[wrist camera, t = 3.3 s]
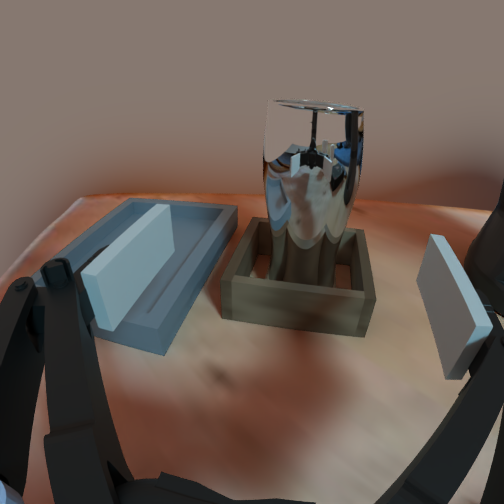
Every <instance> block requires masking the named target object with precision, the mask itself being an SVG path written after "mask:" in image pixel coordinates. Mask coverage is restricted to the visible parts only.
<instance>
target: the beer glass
mask: <svg viewBox="0 0 504 504" xmlns="http://www.w3.org/2000/svg"><path fill="white" fill-rule="evenodd" d="M363 140H364V109H363V108H361V107H358V106H353V105H348V104H343V103H336V102H328V101H319V100H307V99H269V100H268V108H267V118H266V125H265V135H264V150H263V181H264V190H265V199H266V206H267V213H268V219H269V226H270V234H271V257H270V262H269V266H268V269H267V273H266V277H265V279H267V280H275V281H283V282H290V283H298V284H306V285H314V286H322V287H330V288H336V259H337V253H338V249H339V245H340V242H341V239H342V236H343V233H344V231H345V228H346V225H347V222H348V219H349V216H350V214H351V211H352V208H353V205H354V201H355V197H356V194H357V190H358V186H359V181H360V175H361V168H362V158H363V157H362V156H363Z"/></svg>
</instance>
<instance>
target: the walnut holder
mask: <svg viewBox="0 0 504 504" xmlns="http://www.w3.org/2000/svg"><path fill="white" fill-rule="evenodd" d="M258 254H264V255H271V234H270V226H269V219H267V218H258V217H252V219H251V221H250V223H249V225H248V227H247V229H246V231H245V233H244V235H243V236H242V238H241V240H240V242H239V244H238V246H237V248H236V250H235V252H234V254H233V256H232V258H231V260H230V262H229V264H228V265H227V267H226V269H225V271H224V273H223V275H222V277H221V279H220V288H221V307H222V318H224V319H230V320H236V321H242V322H248V323H255V324H261V325H268V326H275V327H282V328H289V329H296V330H304V331H312V332H320V333H328V334H337V335H346V336H356V337H365V335H366V332H367V328H368V325H369V322H370V319H371V316H372V313H373V309H374V306H375V303H376V295H375V288H374V282H373V276H372V271H371V265H370V260H369V254H368V249H367V244H366V239H365V234H364V230H361V229H353V228H345V231H344V233H343V236H342V239H341V242H340V245H339V249H338V253H337V259H336V263H338V264H346V265H350V272H351V285H352V290H347V289H339V288H330V287H322V286H314V285H306V284H298V283H290V282H283V281H275V280H267V279H260V278H252V277H250V274H251V271H252V269H253V266H254V264H255V261H256V259H257V256H258Z"/></svg>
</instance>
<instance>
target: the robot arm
mask: <svg viewBox="0 0 504 504" xmlns="http://www.w3.org/2000/svg"><path fill="white" fill-rule="evenodd" d="M174 251H175V249H174V241H173V232H172V222H171V212H170V205H167V204H156V205H155V206H154V207H152V208H151V209H150V210H149V211H148V212H146V213H145V214H144V215H143V216H142V217H141V218H140V219H138V220H137V221H136V222H135V223H134V224H133V225H131V226H130V227H129V228H128V229H127V230H126V231H125V232H124V233H122V234H121V235H120V236H119V237H118V238H117V239H116V240H115V241H114V242H112V243H111V244H110V245H107V246H105V247H103V248H101V249H99V250H98V251H97V252H96V253H94V254H93V255H92V257H90V258H89V259H88V260H87V262H85V263H84V264H83V265H82V266H80V267H79V268H78V269H77V270H76V271H75V272H74V273H73V272H72V268H71V265H70V262H69V260H68V259H67V258H61V257H60V258H55V259H52V260H49V261H48V262H46V263H45V264H44V265H43V266H42V267H41V269H40V272H41V275H42V278H43V281H44V283H45V286H46V287H36V285H35V283H34V280H33V278H31V277H21V278H19V279H17V280H15V281H14V282H13V283H12V284H11V285H10V286H9V288H8V290H7V292H6V294H5V296H4V298H3V300H2V301H1V303H0V504H24V501H23V499H22V496H23V492H24V488H25V483H26V476H27V469H28V458H29V449H30V441H31V433H32V426H33V420H34V414H35V408H36V402H37V397H38V392H39V387H40V382H41V377H42V373H43V369H44V364H45V379H46V394H47V405H48V415H49V424H50V434H47V435H45V436H44V450H45V456H46V462H47V468H48V474H49V479H50V484H51V489H52V493H53V498H54V502H55V504H316V503H314V502H303V501H293V500H285V499H277V498H276V499H261V500H232V499H229V498H227V497H225V496H223V495H221V494H219V493H217V492H215V491H213V490H211V489H209V488H207V487H205V486H203V485H201V484H199V483H197V482H194V481H191V480H187V479H184V478H180V477H177V476H174V475H170V474H167V473H164V472H161V474H160V476H159V478H158V479H139V480H134V478H133V476H132V474H131V472H130V470H129V468H128V466H127V464H126V462H125V459H124V456H123V453H122V450H121V447H120V444H119V441H118V437H117V434H116V431H115V427H114V424H113V420H112V417H111V413H110V409H109V405H108V402H107V398H106V394H105V389H104V385H103V381H102V376H101V372H100V367H99V362H98V357H97V352H96V347H95V342H94V336H93V330H92V327H91V324H90V322H91V321H92V320H93V318H94V317H95V319H96V322H97V324H98V327H99V328H102V329H105V330H109V331H112V332H113V331H114V330H115V329H116V327H117V326H118V324H119V323H120V322H121V320H122V319H123V318H124V316H125V315H126V314H127V312H128V311H129V310H130V308H131V307H132V306H133V304H134V303H135V302H136V300H137V299H138V298H139V296H140V295H141V294H142V292H143V291H144V290H145V288H146V287H147V286H148V285H149V283H150V282H151V281H152V279H153V278H154V277H155V276H156V274H157V273H158V272H159V270H160V269H161V268H162V267H163V265H164V264H165V263H166V261H167V260H168V259H169V258H170V256H171V255H172V254H173V253H174ZM463 268H464V269H463ZM416 281H417V284H418V287H419V290H420V293H421V296H422V299H423V302H424V305H425V308H426V311H427V314H428V318H429V321H430V324H431V328H432V331H433V334H434V338H435V341H436V345H437V349H438V352H439V356H440V360H441V364H442V368H443V372H444V376H445V380H461V379H462V378H463V376H464V375H465V373H466V372H467V370H469V373H470V376H471V377H470V379H469V380H468V382H467V383H466V384H465V386H464V387H463V389H462V390H461V391H460V393H459V394H458V395H459V396H458V398H457V399H456V401H455V403H454V404H453V406H452V407H451V409H450V410H449V412H448V413H447V415H446V416H445V418H444V419H443V421H442V422H441V424H440V425H439V426H438V428H437V429H436V431H435V432H434V433H433V435H432V436H431V438H430V439H429V440H428V442H427V443H426V444H425V446H424V447H423V448H422V449H421V451H420V452H419V453H418V455H417V456H416V457H415V458H414V460H413V461H412V462H411V463H410V464H409V466H408V467H407V468H406V469H405V470H404V472H403V473H402V474H401V475H400V476H399V477H398V479H397V480H396V481H395V482H394V483H393V484H392V485H391V486H390V488H389V489H388V490H387V491H386V492H385V493H384V494H383V495H382V496H381V497H380V498H379V499H378V500H377V501H376V502H375V503H374V504H448V502H449V501H450V500H451V498H452V497H453V495H454V494H455V492H456V491H457V489H458V488H459V486H460V485H461V483H462V481H463V480H464V478H465V477H466V475H467V473H468V472H469V470H470V468H471V467H472V465H473V463H474V461H475V460H476V458H477V456H478V454H479V453H480V451H481V449H482V447H483V445H484V443H485V441H486V439H487V437H488V435H489V433H490V431H491V429H492V427H493V425H494V423H495V421H496V419H497V417H498V415H499V412H500V410H501V408H502V406H503V403H504V329H503V327H502V325H501V323H500V321H499V319H498V317H497V315H496V313H494V310H496V311H497V312H499V313H500V314H502V315H503V316H504V181H503V185H502V189H501V193H500V197H499V201H498V204H497V206H496V208H495V209H494V211H493V212H492V214H491V215H490V217H489V218H488V220H487V221H486V223H485V224H484V226H483V227H482V229H481V231H480V232H479V234H478V235H477V237H476V238H475V239H474V240H473V241H472V243H471V245H470V247H469V249H468V252H467V255H466V258H465V261H464V266H463V267H462V266H461V264H460V262H459V260H458V259H457V257H456V255H455V254H454V252H453V250H452V249H451V247H450V245H449V244H448V242H447V240H446V239H445V237H444V236H442V235H435V234H430V236H429V240H428V244H427V247H426V251H425V254H424V257H423V261H422V264H421V267H420V270H419V274H418V277H417V280H416ZM480 504H504V406H503V413H502V419H501V424H500V430H499V435H498V440H497V444H496V449H495V453H494V457H493V461H492V465H491V469H490V473H489V476H488V480H487V483H486V487H485V490H484V493H483V496H482V499H481V502H480Z"/></svg>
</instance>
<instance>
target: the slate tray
mask: <svg viewBox="0 0 504 504" xmlns="http://www.w3.org/2000/svg"><path fill="white" fill-rule="evenodd" d="M156 204H167V205H170V212H171V222H172V232H173V241H174V249H175V251H174V253H173V254H172V255H171V256H170V258H169V259H168V260H167V261H166V263H165V264H164V265H163V267H162V268H161V269H160V270H159V272H158V273H157V274H156V276H155V277H154V278H153V279H152V281H151V282H150V283H149V285H148V286H147V287H146V288H145V290H144V291H143V292H142V294H141V295H140V296H139V298H138V299H137V300H136V302H135V303H134V304H133V306H132V307H131V308H130V310H129V311H128V312H127V314H126V315H125V316H124V318H123V319H122V320H121V322H120V323H119V324H118V326H117V327H116V329H115V330H114V331H113V332H112V331H109V330H105V329H102V328H99V327H98V324H97V322H96V319H95V317H94V318H93V320H92V321H91V322H90V324H91V327H92V330H93V336H96V337H99V338H102V339H105V340H109V341H112V342H115V343H119V344H122V345H126V346H129V347H133V348H136V349H140V350H144V351H147V352H151V353H155V354H159V355H163V356H164V355H165V353H166V351H167V350H168V348H169V346H170V344H171V342H172V341H173V339H174V337H175V335H176V333H177V332H178V330H179V328H180V326H181V324H182V323H183V321H184V319H185V317H186V315H187V314H188V312H189V310H190V308H191V307H192V305H193V303H194V301H195V299H196V298H197V296H198V294H199V292H200V291H201V289H202V287H203V285H204V284H205V282H206V280H207V278H208V276H209V275H210V273H211V271H212V269H213V268H214V266H215V264H216V263H217V261H218V259H219V257H220V256H221V254H222V252H223V250H224V249H225V247H226V245H227V243H228V242H229V240H230V238H231V237H232V235H233V233H234V231H235V230H236V228H237V226H238V208H237V206H233V205H222V204H210V203H198V202H185V201H172V200H157V199H141V198H129V199H127V200H126V201H125V202H123V203H122V204H121V205H119V206H118V207H116V208H115V209H114V210H112V211H111V212H110V213H108V214H107V215H106V216H104V217H103V218H102V219H100V220H99V221H98V222H96V223H95V224H94V225H93V226H91V227H90V228H89V229H87V230H86V231H85V232H84V233H82V234H81V235H80V236H79V237H77V238H76V239H75V240H74V241H72V242H71V243H70V244H69V245H67V246H66V247H65V248H64V249H63V250H61V251H60V252H59V253H58V254H57V255H55V256H54V257H53V258H52V259H55V258H60V257H61V258H67V259H68V260H69V262H70V265H71V268H72V272H73V273H74V272H75V271H76V270H77V269H78V268H79V267H80V266H82V265H83V264H84V263H85V262H87V260H88V259H89V258H90V257H92V255H93V254H94V253H96V252H97V251H98V250H99V249H101V248H103V247H105V246H107V245H110V244H111V243H112V242H114V241H115V240H116V239H117V238H118V237H119V236H120V235H121V234H122V233H124V232H125V231H126V230H127V229H128V228H129V227H130V226H131V225H133V224H134V223H135V222H136V221H137V220H138V219H140V218H141V217H142V216H143V215H144V214H145V213H146V212H148V211H149V210H150V209H151V208H152V207H154V206H155V205H156ZM52 259H51V260H52ZM40 269H41V268H40ZM40 269H39V270H38V271H37V272H36V273H34V274H33V275H32V276H31V278H33V280H34V283H35V285H36V287H46V286H45V283H44V281H43V278H42V275H41V272H40Z"/></svg>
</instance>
